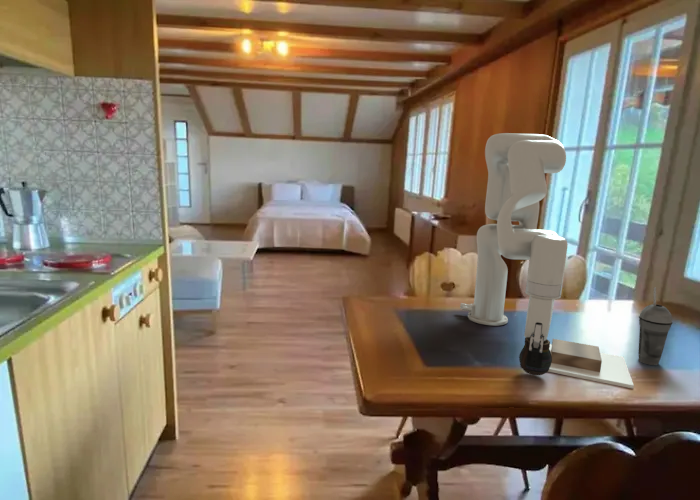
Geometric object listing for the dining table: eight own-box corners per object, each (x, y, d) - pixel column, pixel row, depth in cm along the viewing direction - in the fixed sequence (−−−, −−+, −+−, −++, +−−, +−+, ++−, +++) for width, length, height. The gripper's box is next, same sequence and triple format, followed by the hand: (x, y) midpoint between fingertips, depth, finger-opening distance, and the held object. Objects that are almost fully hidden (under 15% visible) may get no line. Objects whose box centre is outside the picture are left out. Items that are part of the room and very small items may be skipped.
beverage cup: (666, 370, 113) (679, 293, 109) (632, 362, 116) (644, 288, 113) (664, 360, 119) (676, 287, 115) (632, 353, 123) (643, 283, 119)
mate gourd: (534, 380, 102) (538, 339, 100) (510, 366, 109) (514, 328, 107) (557, 375, 105) (562, 335, 103) (532, 362, 112) (536, 324, 110)
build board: (521, 366, 112) (522, 363, 112) (526, 342, 128) (526, 339, 128) (633, 388, 102) (633, 385, 102) (623, 359, 118) (623, 356, 118)
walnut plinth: (550, 362, 113) (552, 351, 112) (551, 349, 122) (552, 338, 121) (600, 372, 108) (601, 360, 108) (596, 357, 117) (598, 346, 117)
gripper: (528, 277, 112) (520, 343, 115) (523, 296, 96) (514, 371, 100) (561, 282, 109) (552, 349, 112) (561, 301, 93) (550, 379, 97)
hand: (534, 359), depth 106 cm, fingers closed on mate gourd, 7 cm apart
